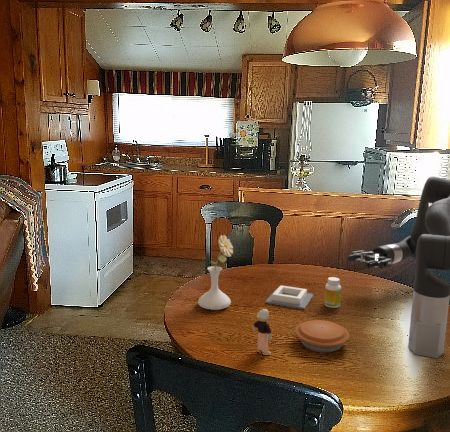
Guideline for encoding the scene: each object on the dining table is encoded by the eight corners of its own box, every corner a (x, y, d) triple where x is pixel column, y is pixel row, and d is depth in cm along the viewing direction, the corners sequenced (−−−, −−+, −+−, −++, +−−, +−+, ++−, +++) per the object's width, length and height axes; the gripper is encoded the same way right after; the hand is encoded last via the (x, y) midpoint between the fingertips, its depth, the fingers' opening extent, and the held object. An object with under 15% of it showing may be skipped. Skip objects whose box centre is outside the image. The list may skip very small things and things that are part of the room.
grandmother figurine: (277, 354, 128) (279, 311, 125) (269, 359, 125) (270, 315, 122) (256, 345, 133) (257, 303, 130) (247, 349, 130) (248, 307, 127)
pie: (291, 331, 142) (292, 315, 141) (342, 332, 142) (343, 317, 141) (297, 356, 127) (298, 339, 126) (354, 357, 127) (355, 340, 126)
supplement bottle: (337, 309, 159) (338, 282, 157) (322, 306, 161) (323, 279, 159) (342, 304, 163) (343, 278, 161) (327, 301, 166) (328, 275, 164)
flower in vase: (212, 316, 152) (212, 242, 147) (191, 305, 161) (190, 235, 156) (241, 306, 161) (242, 236, 156) (219, 296, 169) (220, 230, 164)
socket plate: (304, 309, 158) (304, 301, 157) (265, 303, 163) (265, 295, 163) (313, 295, 171) (313, 288, 170) (276, 290, 176) (276, 282, 175)
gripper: (372, 241, 179) (342, 247, 171) (404, 249, 167) (373, 257, 159) (371, 259, 181) (341, 266, 172) (402, 269, 169) (372, 277, 160)
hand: (357, 262), depth 165 cm, fingers open, 8 cm apart
